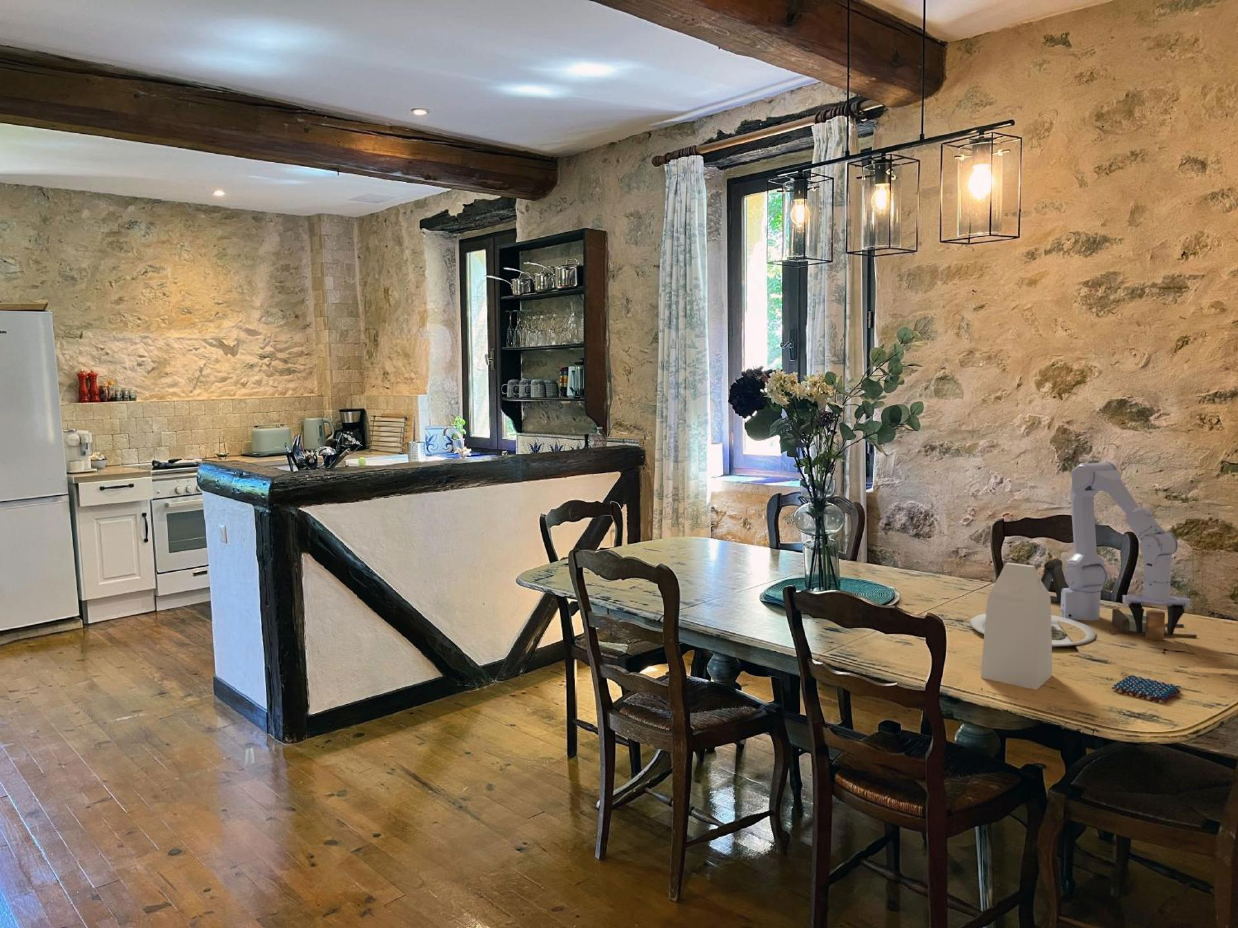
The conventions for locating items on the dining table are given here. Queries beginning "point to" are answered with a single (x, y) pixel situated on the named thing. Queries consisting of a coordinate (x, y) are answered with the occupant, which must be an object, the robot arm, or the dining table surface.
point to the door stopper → (1054, 578)
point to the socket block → (1133, 626)
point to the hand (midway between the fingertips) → (1154, 633)
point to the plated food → (1056, 630)
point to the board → (1123, 626)
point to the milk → (1018, 629)
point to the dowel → (1155, 625)
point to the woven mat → (1146, 688)
